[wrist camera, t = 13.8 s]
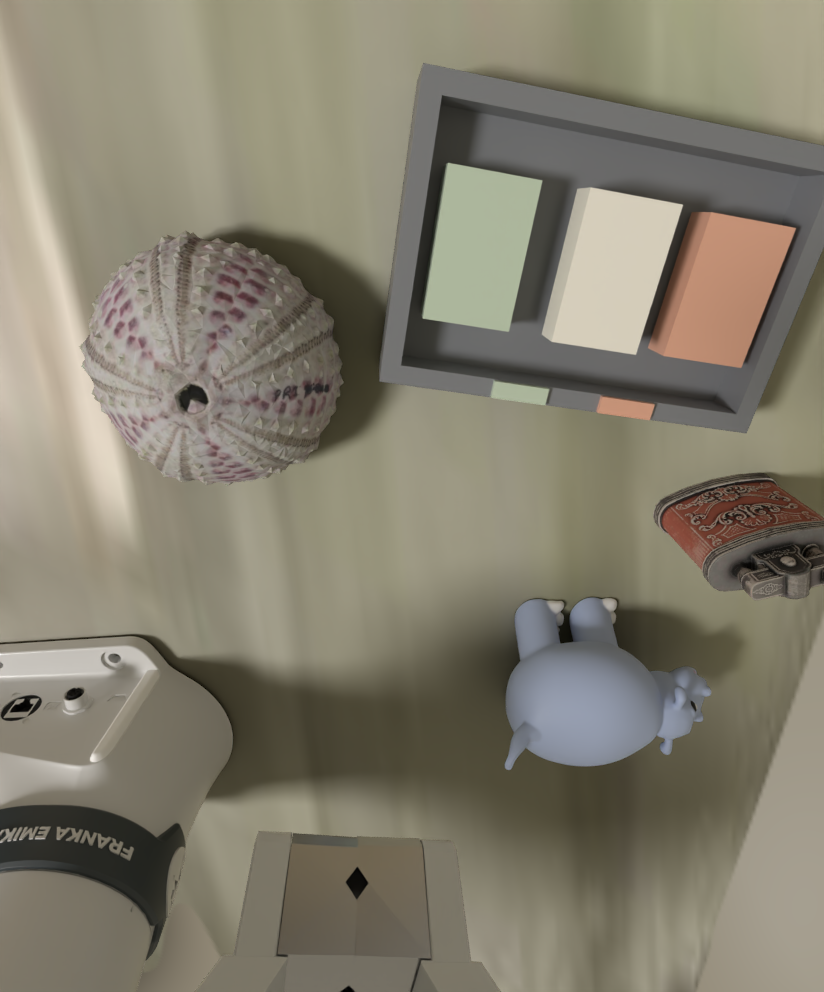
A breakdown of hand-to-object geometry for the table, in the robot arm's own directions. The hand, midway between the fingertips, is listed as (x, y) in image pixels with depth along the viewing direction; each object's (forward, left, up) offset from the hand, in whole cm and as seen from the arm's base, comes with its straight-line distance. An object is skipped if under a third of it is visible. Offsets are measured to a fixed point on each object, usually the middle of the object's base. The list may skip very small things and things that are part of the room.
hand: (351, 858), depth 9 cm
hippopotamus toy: (+18, -19, -29) cm, 40 cm away
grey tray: (+11, +8, -29) cm, 32 cm away
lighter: (+24, -5, -29) cm, 38 cm away
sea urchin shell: (-8, 0, -30) cm, 31 cm away
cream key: (+11, +8, -26) cm, 29 cm away
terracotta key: (+17, +8, -27) cm, 33 cm away
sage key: (+5, +8, -27) cm, 29 cm away
